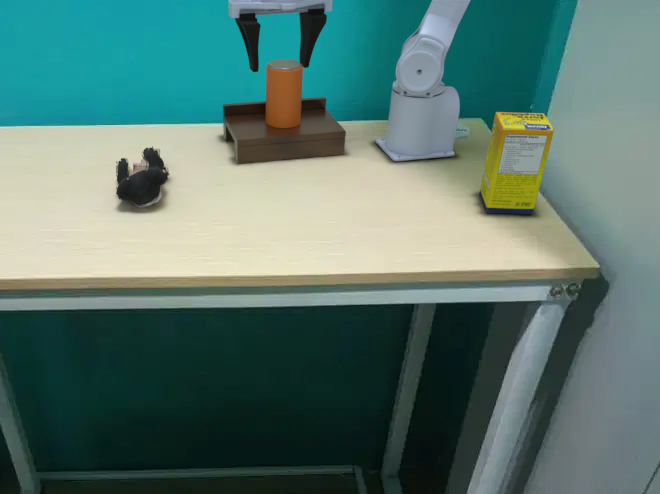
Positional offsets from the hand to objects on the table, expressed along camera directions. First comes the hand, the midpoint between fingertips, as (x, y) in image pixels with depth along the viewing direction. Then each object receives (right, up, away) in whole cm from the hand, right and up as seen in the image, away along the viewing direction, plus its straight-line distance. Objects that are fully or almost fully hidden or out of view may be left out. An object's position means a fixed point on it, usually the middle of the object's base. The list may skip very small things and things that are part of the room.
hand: (279, 68), depth 107 cm
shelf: (+1, -10, +4) cm, 11 cm away
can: (+1, -7, +2) cm, 7 cm away
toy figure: (-19, -20, -8) cm, 28 cm away
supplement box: (+28, -23, -12) cm, 38 cm away
